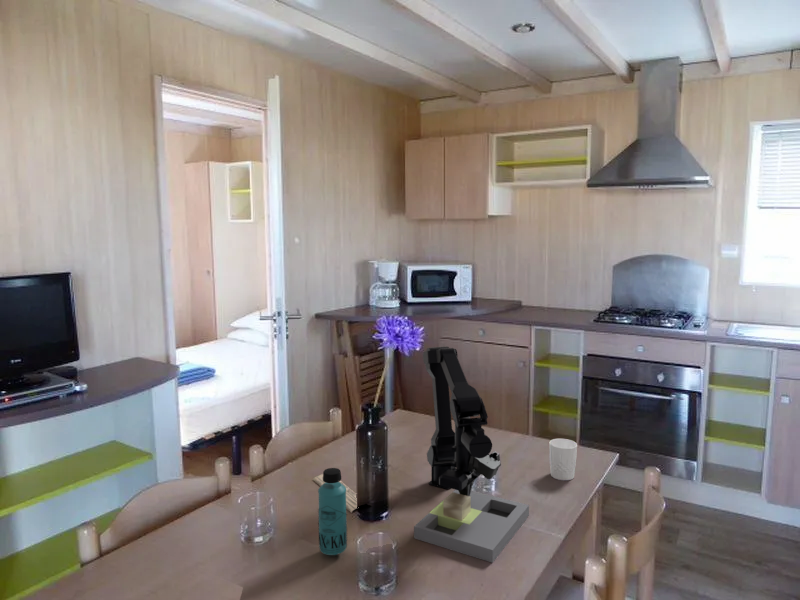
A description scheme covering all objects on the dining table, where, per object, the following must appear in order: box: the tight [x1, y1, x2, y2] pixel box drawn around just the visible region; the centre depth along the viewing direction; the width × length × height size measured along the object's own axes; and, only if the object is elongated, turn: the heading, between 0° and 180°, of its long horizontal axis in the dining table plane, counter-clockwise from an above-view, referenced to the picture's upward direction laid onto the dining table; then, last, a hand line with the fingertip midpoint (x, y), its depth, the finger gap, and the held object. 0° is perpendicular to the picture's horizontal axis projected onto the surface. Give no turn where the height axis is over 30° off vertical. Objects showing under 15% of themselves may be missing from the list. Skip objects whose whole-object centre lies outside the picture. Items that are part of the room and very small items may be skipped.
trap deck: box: [413, 489, 530, 564], centre depth 145 cm, size 20×24×3 cm
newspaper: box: [313, 473, 358, 514], centre depth 164 cm, size 24×7×2 cm, turn 33°
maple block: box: [442, 491, 471, 521], centre depth 145 cm, size 5×5×4 cm
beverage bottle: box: [317, 467, 348, 556], centre depth 133 cm, size 6×7×20 cm
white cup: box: [548, 438, 578, 481], centre depth 173 cm, size 8×8×10 cm
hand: (465, 500), depth 151 cm, fingers closed
